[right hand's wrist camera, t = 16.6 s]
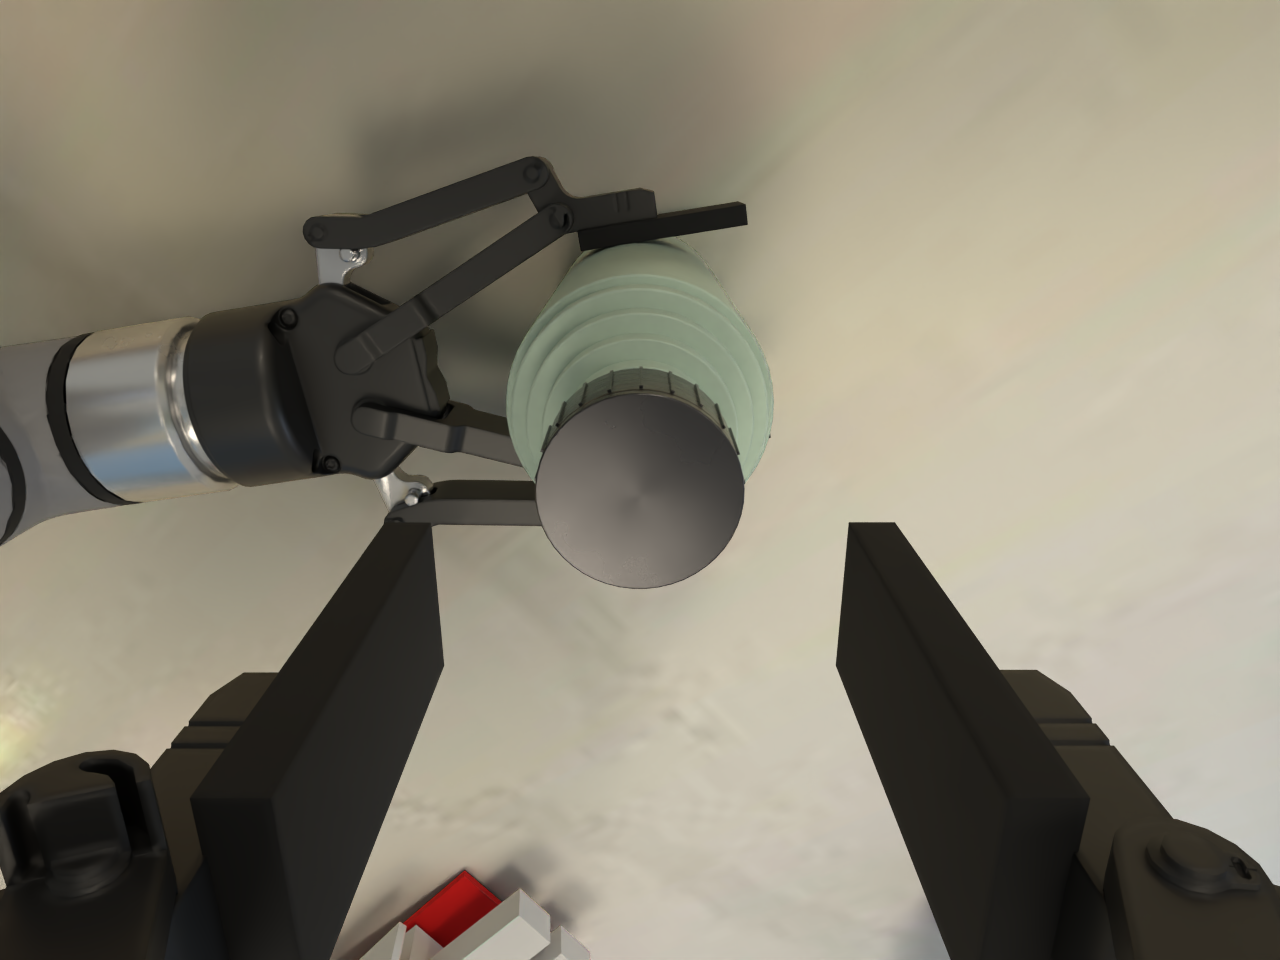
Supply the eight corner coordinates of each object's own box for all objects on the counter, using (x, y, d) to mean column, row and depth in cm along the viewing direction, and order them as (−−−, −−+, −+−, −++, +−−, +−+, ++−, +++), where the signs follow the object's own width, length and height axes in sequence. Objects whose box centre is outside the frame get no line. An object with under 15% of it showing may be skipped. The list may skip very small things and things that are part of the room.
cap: (680, 575, 22) (685, 622, 20) (513, 499, 22) (498, 539, 19) (769, 418, 21) (786, 450, 19) (594, 331, 20) (588, 354, 18)
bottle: (674, 418, 44) (712, 691, 21) (532, 349, 42) (410, 561, 20) (750, 276, 41) (884, 412, 19) (601, 198, 40) (551, 244, 17)
